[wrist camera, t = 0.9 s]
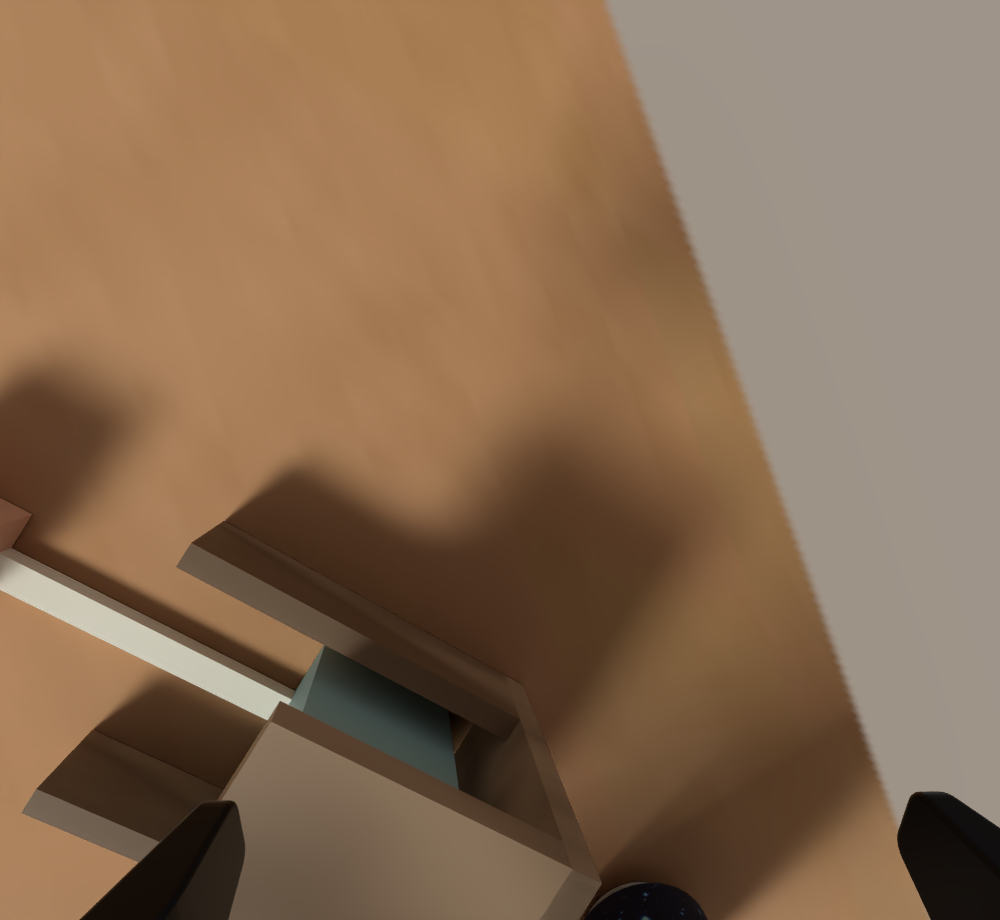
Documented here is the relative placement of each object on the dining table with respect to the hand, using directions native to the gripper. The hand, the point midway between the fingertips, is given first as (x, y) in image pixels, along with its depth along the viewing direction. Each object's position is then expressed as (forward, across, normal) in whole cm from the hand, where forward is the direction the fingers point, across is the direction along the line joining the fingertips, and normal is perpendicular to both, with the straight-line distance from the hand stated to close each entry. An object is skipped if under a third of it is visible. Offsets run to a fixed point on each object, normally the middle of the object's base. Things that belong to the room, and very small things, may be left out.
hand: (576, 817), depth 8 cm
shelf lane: (+11, +7, +8) cm, 15 cm away
